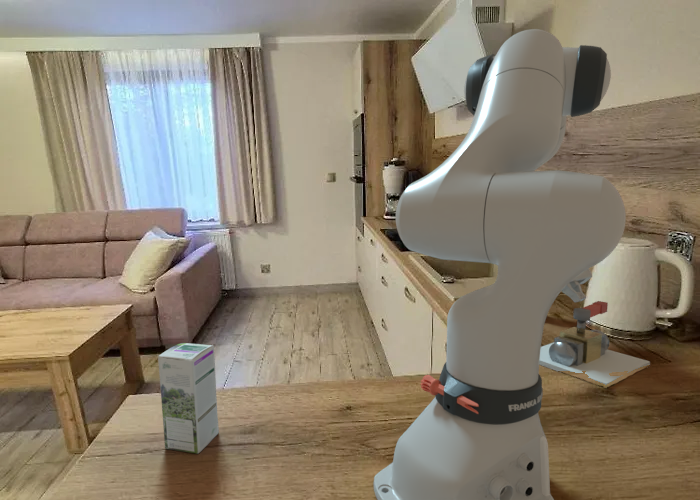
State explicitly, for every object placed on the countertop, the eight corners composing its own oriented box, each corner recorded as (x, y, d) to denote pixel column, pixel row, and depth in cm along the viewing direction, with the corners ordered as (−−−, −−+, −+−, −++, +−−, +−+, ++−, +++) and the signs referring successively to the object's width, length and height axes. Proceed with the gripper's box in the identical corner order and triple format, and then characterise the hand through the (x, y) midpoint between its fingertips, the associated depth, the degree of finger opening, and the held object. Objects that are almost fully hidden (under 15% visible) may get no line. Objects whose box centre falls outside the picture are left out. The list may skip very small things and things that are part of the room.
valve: (574, 371, 82) (576, 330, 81) (546, 361, 87) (548, 323, 86) (610, 355, 90) (613, 318, 89) (583, 347, 95) (585, 312, 94)
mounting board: (606, 388, 75) (606, 383, 75) (520, 358, 90) (521, 353, 90) (649, 365, 86) (650, 361, 85) (566, 341, 101) (566, 337, 100)
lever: (570, 318, 88) (571, 309, 88) (595, 309, 95) (595, 300, 95) (586, 322, 85) (586, 312, 85) (609, 312, 93) (610, 303, 93)
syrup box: (220, 432, 62) (215, 343, 60) (197, 456, 56) (192, 358, 55) (188, 428, 63) (182, 340, 62) (162, 450, 58) (156, 354, 56)
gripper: (528, 250, 94) (566, 298, 87) (574, 244, 105) (612, 287, 98) (510, 266, 98) (546, 314, 91) (557, 259, 109) (592, 301, 102)
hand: (581, 300), depth 94 cm, fingers closed
